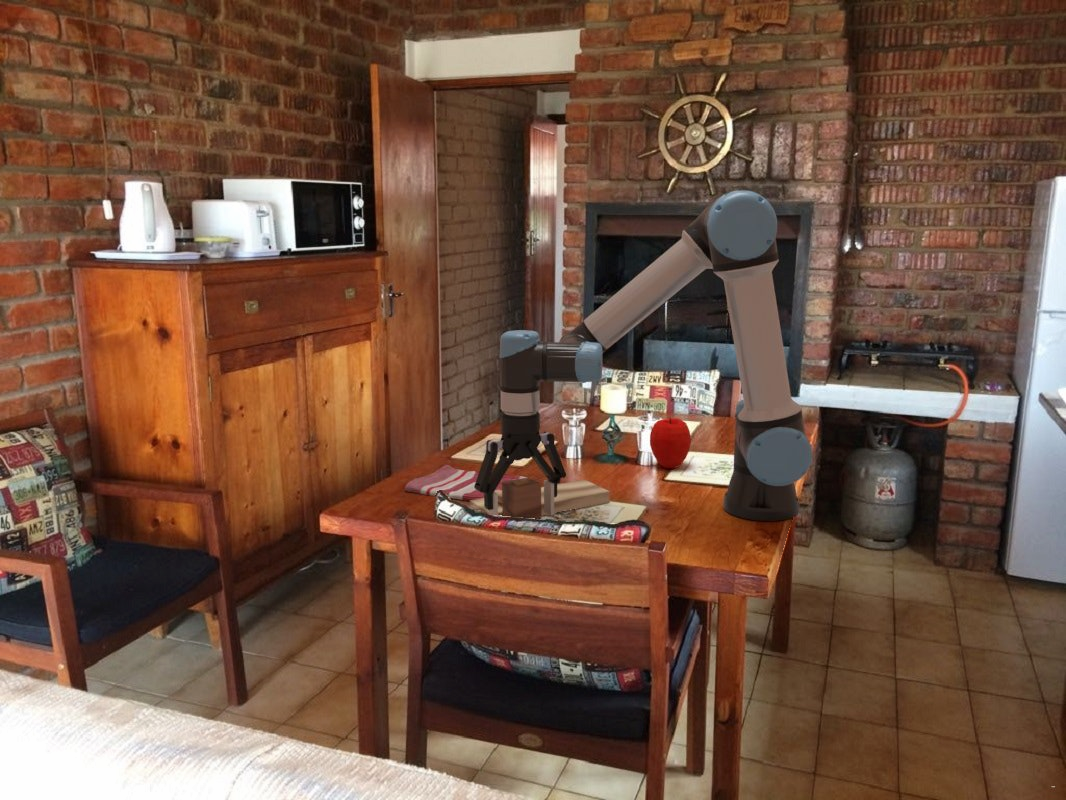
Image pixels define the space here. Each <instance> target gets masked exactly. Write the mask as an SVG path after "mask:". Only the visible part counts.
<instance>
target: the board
mask: <svg viewBox="0 0 1066 800" xmlns="http://www.w3.org/2000/svg"><path fill="white" fill-rule="evenodd" d="M610 493H611V492H610V490H607V489H606V488H604V487H601V486H600V485H598V484H595V483H593V482H590V481H588V480H587V479H579V480H574V481H568V482H564V483H563V482H562V483H557V497H554V513H555V514H558V513H557V512H560V513H562V512H561V511H564V510H570V509H575V508H580V509H583V508H582V507H585V508H588V507H587V506H590V507H594V506H601V505H605V504H608V503H610V502H611V497H610ZM470 506H471V507H473V508H476V509H478V510H481V511H484V512H487V513H488V509H486V508H485V506H484V498H480V499H475V500H470V502H469V507H470ZM575 510H576V509H575ZM570 511H571V510H570ZM498 515H502V503H501V502H499V501H498ZM543 515H545V516H549V515H548V513H546V512H544V486H541V517H544V516H543Z"/></svg>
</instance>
